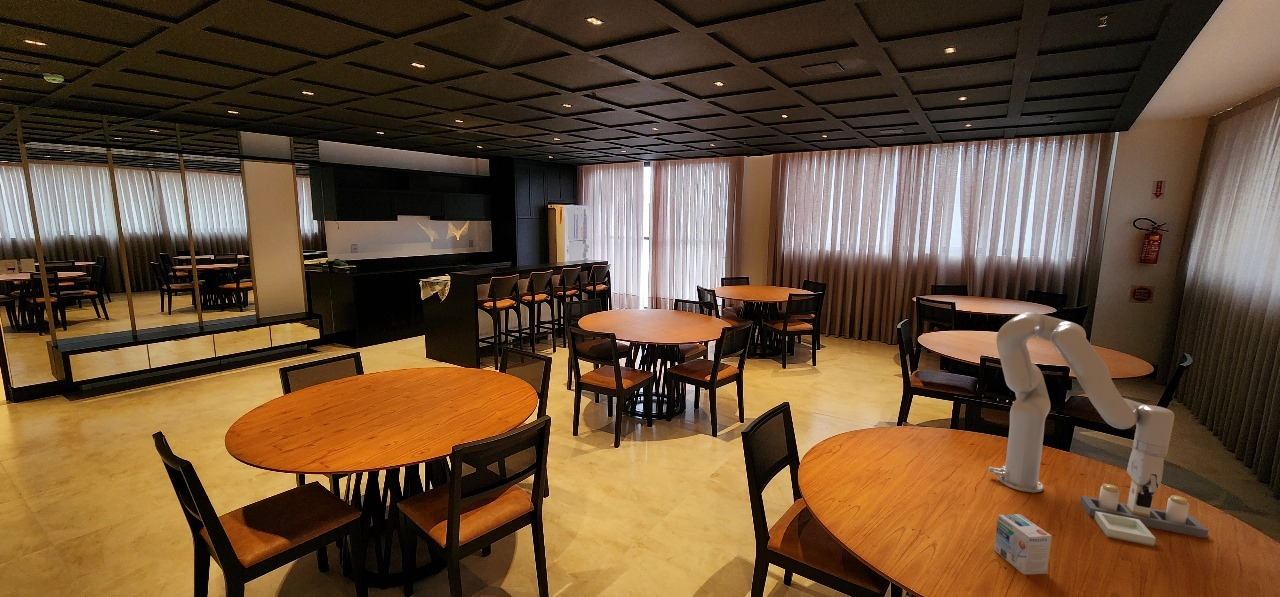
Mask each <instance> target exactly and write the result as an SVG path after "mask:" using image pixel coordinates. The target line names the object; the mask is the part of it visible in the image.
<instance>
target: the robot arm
mask: <svg viewBox="0 0 1280 597" xmlns="http://www.w3.org/2000/svg"><path fill="white" fill-rule="evenodd" d="M1086 333H1087V332H1086V330H1085V328H1083V326H1081V325H1079V324H1077V323H1075V322H1073V321H1068V320H1065V319H1061V318H1056V317H1053V316H1049V315H1046V314H1042V313H1038V312H1033V311H1028V312H1027V311H1025V312H1022V313H1019V314H1018V315H1016V316H1014V317H1012V318H1011V319H1010V320H1008V321H1007V322H1006V323H1004V324H1003V325H1002V326H1001V327H1000V329H999V330H998V332H997V335H996V339H995V340H996V347H997V352H998V355H999V360H1000V364H1001V369H1002V373H1003V377H1004V381H1005V384H1006V386H1007V387H1008V388H1009V389H1010V390H1011V391H1013V392H1014V393H1015V400H1014V401H1013V403H1012V405H1011V407H1010V411H1009V430H1008V438H1007V439H1008V441H1007V446H1006V447H1007V449H1006V456H1005V458H1006V459H1005V463H1004V465H1002V467H999V468H998V467H994V466H988V473H992V474H993V475H994V476H998V481H999V482H1000V483H1001V484H1003V485H1004V486H1007V487H1008V488H1011V489H1013V490H1016V491H1020V492H1024V493H1025V492H1026V493H1034V494H1035V493H1036V494H1037V493H1040V492H1042V491H1043V490H1044V485H1043V484H1042V483H1041V482H1040V481H1039V476H1040V470H1041V461H1042V460H1041V459H1042V455H1043V454H1042V451H1043V442H1044V435H1045V422H1046V419H1047V417H1048V415H1049V413H1050V410H1051V400H1050V396H1049V393H1048V392H1049V391H1048V389H1047V386H1046V382H1045V378H1044V375H1043V372H1042V371H1041V368H1039V366H1037V365H1036V364H1034V363H1033V362H1032V360H1031V355H1030V352H1029V349H1028V347H1027V342H1028V341H1030V340H1031V339H1033V338H1035V339H1040V340H1043V341H1046V342H1050V343H1051V344H1052V345H1053V347H1054V349H1055V350H1056V351H1057V353H1058V354H1059V355H1060V357H1061V358H1062V360H1064V362H1065V363H1066V365H1067V366H1068V368H1069V369H1070V370H1071V372H1072V373H1073V374H1074V376H1075V377H1076V379H1077V381H1078V383H1079V385H1080V386H1081V388H1082V389H1083V391H1084V393H1085V394H1086V396H1087V398H1088V399H1089V401H1090V402H1091V404H1092V405H1093V407H1094V408H1095V409H1096V411H1097V413H1098V414H1099V415H1100V417H1101V418H1102V419H1103V420H1104V421H1105V423H1107V424H1108V425H1110V426H1111V427H1113V428H1116V429H1117V430H1118V429H1119V430H1127V429H1131V428H1132V427H1134V426H1135V425H1136V427H1135V428H1136V429H1135V432H1134V439H1133V443H1132V450H1131V453H1130V456H1129V459H1128V460H1129V461H1128V463H1127V469H1126V474H1128V475H1129V477H1130V478H1131V479H1133V480H1134V481H1135V482H1136V483H1137V484H1139V485H1141V486H1140V493H1138V496H1137V501H1136V505H1137V506H1142V507H1147V508H1150V507H1151V508H1152V506H1151V502H1152V503H1153V501H1152V497H1153V498H1154V496H1153V495H1154V494H1156V493H1158V488H1160V487H1161V484H1162V480H1163V473H1164V464H1165V463H1164V462H1165V460H1164V459H1165V457H1167V456H1168V451H1169V447H1170V442H1171V436H1172V431H1173V427H1174V422H1175V413H1174V411H1172V410H1170V409H1168V408H1166V407H1162V406H1158V405H1151V404H1149V405H1148V404H1144V403H1141V402H1138V401H1135V400H1132V399H1129V398H1125V397H1123V396H1122V395H1121V393H1120V391H1119V390H1118V389H1117V387H1116V385H1115V383H1114V382H1113V379H1112V377H1111V372H1110V370H1109V367H1108V366H1107V364H1106V363H1105V361H1104V360H1103V359H1102V357H1101V356H1100V355H1099V354H1098V353H1097V351H1096V349H1095V348H1094V347H1093V346H1092V344H1091V342H1089V340H1088V339H1087V334H1086ZM1146 483H1149V485H1147V484H1146ZM1144 487H1149V488H1148V489H1147V488H1146V489H1145V490H1144Z"/></svg>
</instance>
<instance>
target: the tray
mask: <svg viewBox="0 0 1280 597" xmlns="http://www.w3.org/2000/svg"><path fill="white" fill-rule="evenodd" d="M1093 517H1094V516H1093ZM1093 519H1094V520H1095V522H1096V523H1097V525H1098V526H1099V528H1100V529H1101V530H1102V532H1103V533H1104V535H1105V536H1106V537H1107V538H1112V539H1117V540H1122V541H1127V542H1131V543H1136V544H1141V545H1146V546H1151V547H1155V544H1156V537H1155V536H1154V535H1153V533H1152V532H1151V531H1150V530H1149V528H1148V527H1146V526H1145V525H1144V524H1143V523H1142V522H1141V521H1140V520H1139V519H1134V518H1128V517H1123V516H1118V515H1113V514H1107V513H1102V512H1097V511H1095V517H1094V518H1093Z"/></svg>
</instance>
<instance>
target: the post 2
mask: <svg viewBox="0 0 1280 597" xmlns="http://www.w3.org/2000/svg"><path fill="white" fill-rule="evenodd" d="M1166 503H1167V504H1166V510H1165V511H1166V515H1165V521H1170V522H1175V523H1181V524H1186V520H1187V515H1189V514H1188V513H1189V508H1190V503H1189V502H1188V499H1187V498H1185V497H1183V496H1180V495H1175V494H1174V495H1170V496H1169V497H1168V499H1167V502H1166Z"/></svg>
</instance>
